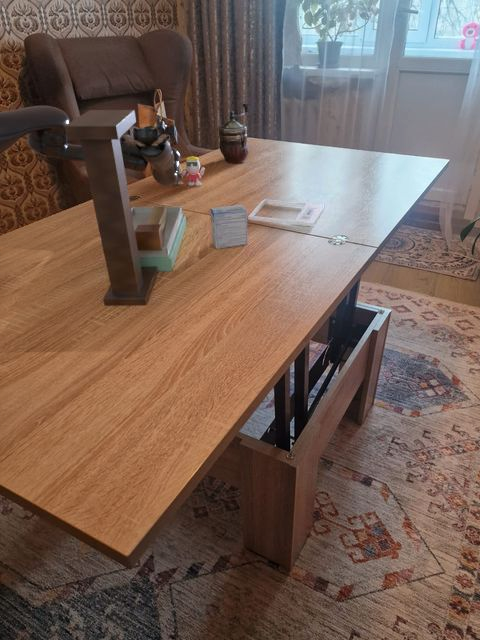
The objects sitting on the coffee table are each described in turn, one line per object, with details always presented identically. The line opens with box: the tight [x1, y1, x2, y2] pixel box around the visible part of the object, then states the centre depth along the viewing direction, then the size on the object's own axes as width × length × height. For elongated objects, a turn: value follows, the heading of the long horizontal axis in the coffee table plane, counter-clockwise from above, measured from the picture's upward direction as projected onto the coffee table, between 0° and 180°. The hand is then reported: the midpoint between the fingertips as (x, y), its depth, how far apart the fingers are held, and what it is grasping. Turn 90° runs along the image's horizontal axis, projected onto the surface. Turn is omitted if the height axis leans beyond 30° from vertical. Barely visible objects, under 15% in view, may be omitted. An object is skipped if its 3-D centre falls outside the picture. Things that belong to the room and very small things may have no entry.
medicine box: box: [209, 204, 249, 250], centre depth 114 cm, size 8×4×9 cm, turn 108°
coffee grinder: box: [218, 103, 250, 164], centre depth 175 cm, size 13×15×18 cm
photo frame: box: [247, 198, 326, 228], centre depth 132 cm, size 15×1×18 cm
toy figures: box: [173, 156, 206, 187], centre depth 154 cm, size 12×4×8 cm, turn 79°
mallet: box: [135, 205, 167, 251], centre depth 110 cm, size 5×24×4 cm, turn 4°
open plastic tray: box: [104, 206, 187, 272], centre depth 114 cm, size 14×27×5 cm, turn 1°
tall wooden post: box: [64, 109, 159, 307], centre depth 89 cm, size 8×14×32 cm, turn 1°
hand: (138, 123), depth 106 cm, fingers open, 8 cm apart
